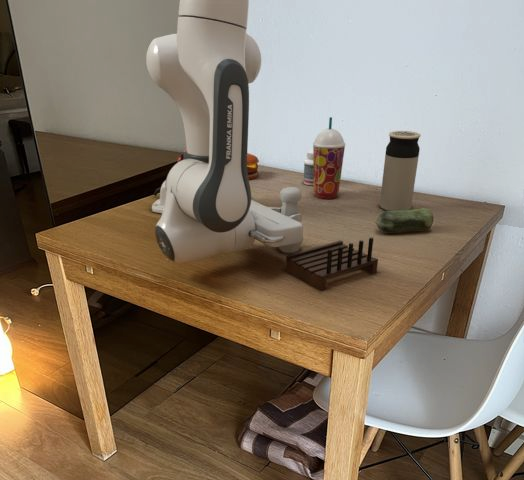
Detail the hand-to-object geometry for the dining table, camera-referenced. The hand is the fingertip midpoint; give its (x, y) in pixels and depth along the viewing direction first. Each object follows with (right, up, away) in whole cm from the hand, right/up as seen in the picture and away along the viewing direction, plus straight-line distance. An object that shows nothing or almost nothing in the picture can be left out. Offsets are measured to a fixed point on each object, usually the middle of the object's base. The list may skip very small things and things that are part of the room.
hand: (293, 214), depth 113 cm
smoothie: (+11, +14, +36) cm, 40 cm away
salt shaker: (-1, -7, +4) cm, 8 cm away
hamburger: (-12, +25, +53) cm, 60 cm away
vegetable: (+26, -1, +13) cm, 29 cm away
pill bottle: (+8, +20, +46) cm, 51 cm away
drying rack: (+7, -13, -6) cm, 16 cm away
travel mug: (+28, +8, +27) cm, 40 cm away
